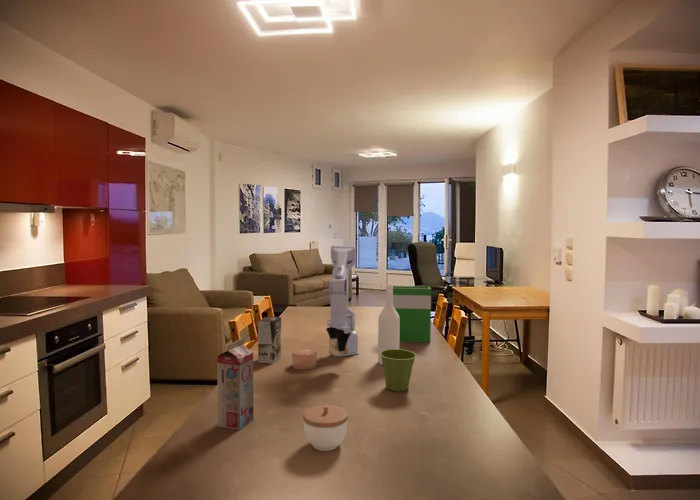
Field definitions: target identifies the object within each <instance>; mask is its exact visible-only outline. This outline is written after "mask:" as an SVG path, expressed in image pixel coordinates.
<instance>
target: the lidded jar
mask: <svg viewBox="0 0 700 500" xmlns="http://www.w3.org/2000/svg"><path fill="white" fill-rule="evenodd" d="M302 419H303V428H304V429H303V431H304V435H305V438H306V439H307V441H308V442H309V443H310V444H311V446H312V447H313V448H314V449H315V450H317V451H321V452H329V451H333V450H336V449H337V448H338V447H339V445H340V444H341V443H342V442H343V441H344V439H345V437H346V435H347V430H348V419H349V412H348V411H347V410H346V409H345V408H343V407H341V406H337V405H331V404H321V405H315V406H312V407H309V408H307V409H306V410H304V412H303V416H302Z"/></svg>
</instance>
